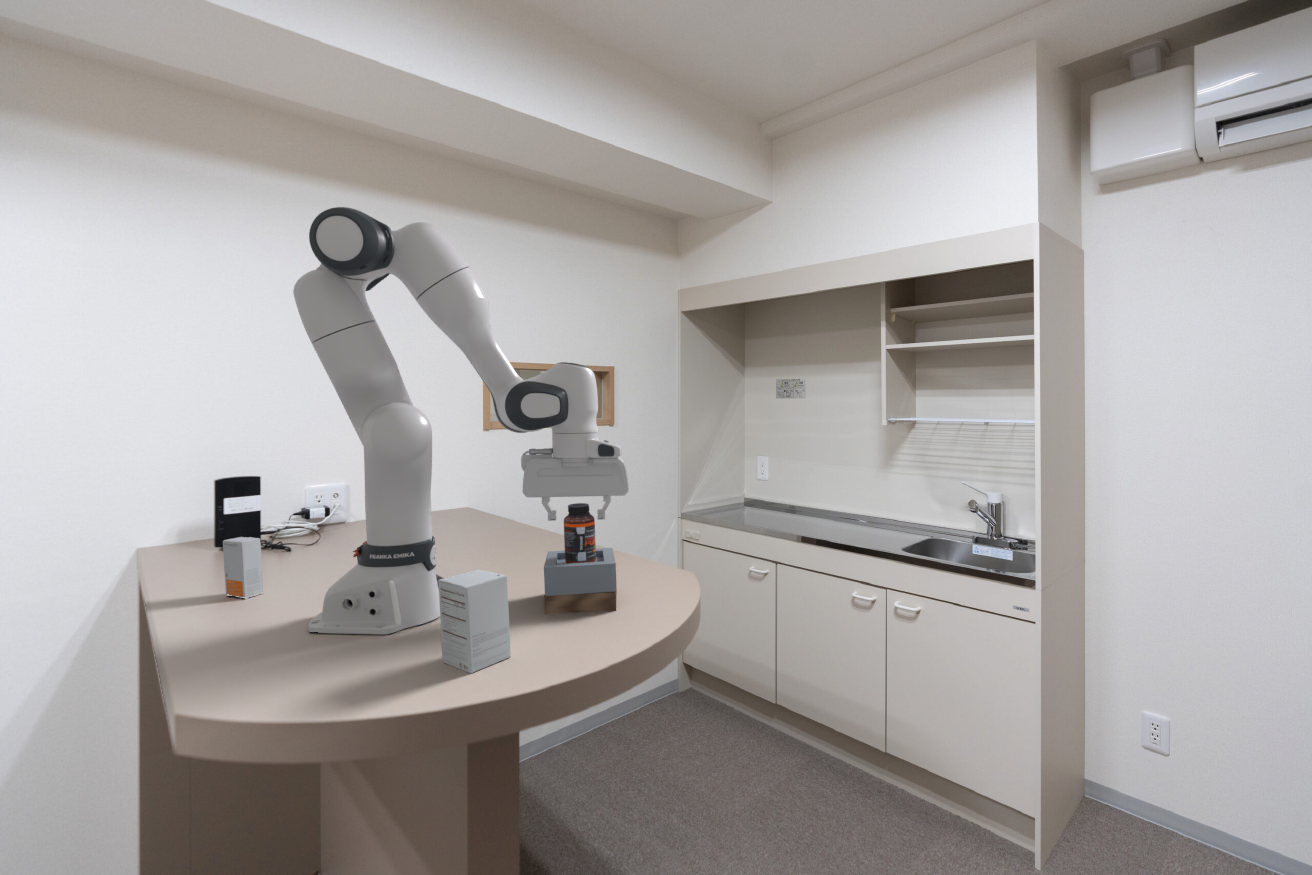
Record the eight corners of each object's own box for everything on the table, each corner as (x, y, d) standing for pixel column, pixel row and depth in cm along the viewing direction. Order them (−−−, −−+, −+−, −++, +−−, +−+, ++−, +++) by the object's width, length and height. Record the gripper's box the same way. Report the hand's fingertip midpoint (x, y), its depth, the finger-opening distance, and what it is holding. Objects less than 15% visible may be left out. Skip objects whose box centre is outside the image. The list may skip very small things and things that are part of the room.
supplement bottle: (590, 567, 117) (587, 507, 116) (560, 566, 118) (557, 507, 117) (600, 558, 123) (597, 501, 122) (571, 557, 124) (569, 501, 123)
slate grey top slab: (545, 596, 113) (543, 567, 113) (548, 576, 126) (547, 551, 126) (616, 591, 115) (615, 563, 114) (613, 572, 128) (612, 547, 127)
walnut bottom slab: (544, 617, 114) (544, 595, 114) (552, 595, 127) (551, 576, 127) (616, 614, 114) (615, 592, 114) (616, 593, 127) (616, 573, 127)
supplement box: (482, 646, 99) (479, 567, 98) (512, 657, 94) (508, 574, 93) (440, 662, 93) (436, 578, 92) (469, 674, 88) (465, 586, 88)
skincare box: (224, 597, 130) (221, 540, 129) (245, 591, 134) (241, 536, 133) (244, 599, 128) (241, 541, 127) (264, 593, 132) (261, 537, 131)
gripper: (518, 449, 116) (519, 523, 116) (628, 448, 117) (629, 521, 118) (523, 447, 122) (524, 518, 123) (627, 446, 123) (628, 515, 124)
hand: (576, 519), depth 120 cm, fingers open, 8 cm apart
